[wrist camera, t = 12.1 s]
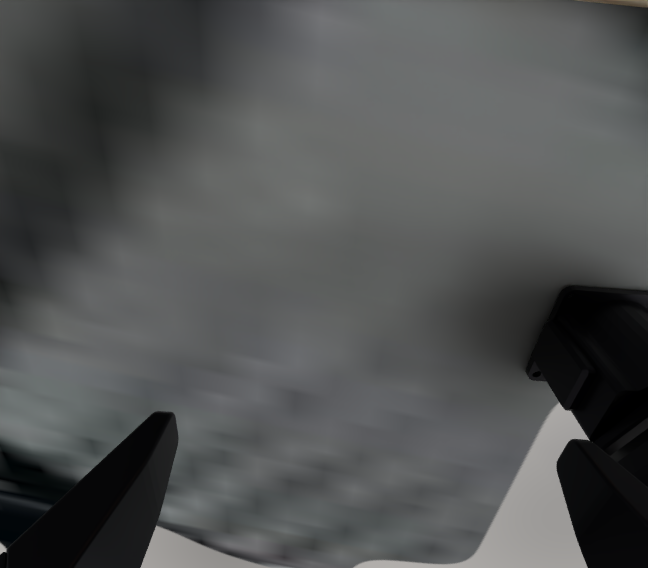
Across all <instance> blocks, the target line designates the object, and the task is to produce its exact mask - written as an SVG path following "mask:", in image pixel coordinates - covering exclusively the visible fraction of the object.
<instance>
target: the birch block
mask: <svg viewBox="0 0 648 568" xmlns="http://www.w3.org/2000/svg"><path fill="white" fill-rule="evenodd" d="M576 1H586V2H596V3H606V4H616V5H626V6H636V7H645V8H648V0H576Z"/></svg>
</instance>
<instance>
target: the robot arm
mask: <svg viewBox="0 0 648 568" xmlns="http://www.w3.org/2000/svg"><path fill="white" fill-rule="evenodd" d="M571 294H574V295H573V296H572V297H569V296H570V295H571ZM568 297H569V298H568ZM531 356H532V357H531V359H530V361H529V363H528V366H527V368H526V374H527V375H528V377H529V379H531V380H536V381H547V382H548V384H549V386H550V387H551V389H552V391H553V392H554V394H555V396H556V397H557V399H558V400H559V402H560V404H561V405H562V407H563V408H564V409H565V410H569V411H572V413H573V415H574V416H575V418H576V419H577V421H578V423H579V424H580V426H581V427H582V429H583V430H584V432H585V434H586V435H587V437H588V438H589V440H590V441H588V440H580V439H572V440H570V441H569V442H568V444H567V445H566V447H565V448H564V450H563V452H562V454H561V455H560V457H559V459H558V461H557V473H558V477H559V479H560V483H561V487H562V490H563V494H564V497H565V501H566V504H567V508H568V511H569V514H570V518H571V521H572V525H573V528H574V531H575V535H576V538H577V541H578V543H579V546H580V549H581V552H582V554H583V557H584V559H585V562H586V564H587V567H588V568H648V292H644V291H631V290H618V289H606V288H593V287H580V286H568V287H566V288H564V289H563V290H562V291H561V293H560V294H559V297H558V299H557V301H556V303H555V306H554V308H553V310H552V312H551V314H550V317H549V319H548V321H547V322H546V324H545V326H544V328H543V330H542V332H541V335H540V337H539V339H538V341H537V344H536V346H535V348H534V350H533V352H532V355H531ZM536 371H537V372H536ZM534 372H535V373H534ZM177 446H178V431H177V424H176V418H175V414H174V413H173V412H164V411H156V412H154V413H153V414H151V415H150V416H149V417H148V418H147V419H146V420H145V421H144V422H143V423H142V424H141V425H140V426H138V427H137V428H136V429H135V430H134V431H133V432H132V433H131V434H130V435H129V436H128V437H127V438H126V439H124V440H123V441H122V442H121V443H120V444H119V445H118V446H117V447H116V448H115V449H114V450H113V451H112V452H110V453H109V454H108V455H107V456H106V457H105V458H104V459H103V460H102V461H101V462H100V463H99V464H98V465H96V466H95V467H94V468H93V469H92V470H91V471H90V472H89V473H88V474H87V475H86V476H85V477H84V478H82V479H81V480H80V481H79V482H78V483H77V484H76V485H75V486H74V487H73V488H72V489H71V490H70V491H68V492H67V493H66V494H65V495H64V496H63V497H62V498H61V499H60V500H59V501H58V502H57V503H56V504H55V505H53V506H52V507H51V508H50V509H49V510H48V511H47V512H46V513H45V514H44V515H43V516H42V517H41V518H39V519H38V520H37V521H36V522H35V523H34V524H33V525H32V526H31V527H30V528H29V529H28V530H27V531H25V532H24V533H23V534H22V535H21V536H20V537H19V538H18V539H17V540H16V541H15V542H14V543H13V544H11V545H10V546H9V547H8V548H7V553H6V552H3V553H2V554H1V555H0V568H140V567H141V565H142V562H143V559H144V556H145V554H146V551H147V549H148V546H149V543H150V540H151V538H152V535H153V532H154V530H155V527H156V524H157V521H158V518H159V515H160V512H161V508H162V504H163V501H164V497H165V493H166V489H167V485H168V481H169V477H170V473H171V469H172V465H173V462H174V458H175V454H176V450H177Z"/></svg>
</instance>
